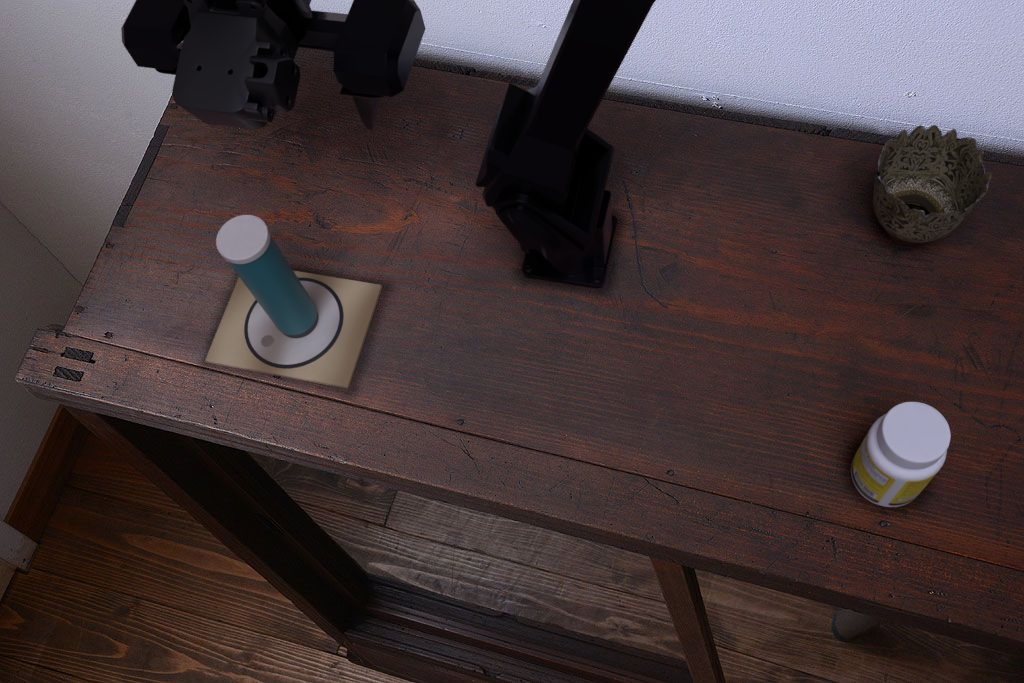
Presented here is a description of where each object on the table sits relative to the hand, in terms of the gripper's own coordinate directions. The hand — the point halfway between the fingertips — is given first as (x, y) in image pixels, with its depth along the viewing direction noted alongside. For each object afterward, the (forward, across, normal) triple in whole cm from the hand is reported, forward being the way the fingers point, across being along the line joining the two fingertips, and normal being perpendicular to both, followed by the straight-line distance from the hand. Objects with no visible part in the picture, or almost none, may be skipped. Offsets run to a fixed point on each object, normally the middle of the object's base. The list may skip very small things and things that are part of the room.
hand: (311, 117), depth 69 cm
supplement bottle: (+13, +43, -14) cm, 47 cm away
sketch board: (+13, -2, -10) cm, 17 cm away
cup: (+13, +43, +6) cm, 45 cm away
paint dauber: (+12, -2, -10) cm, 16 cm away
